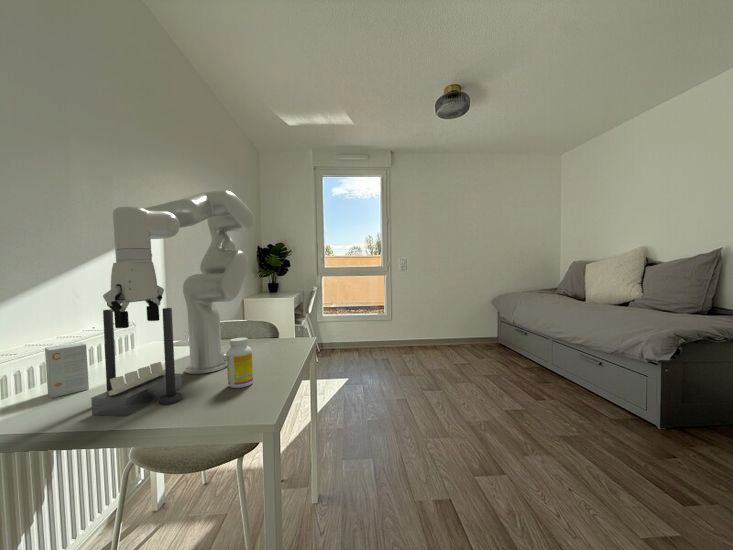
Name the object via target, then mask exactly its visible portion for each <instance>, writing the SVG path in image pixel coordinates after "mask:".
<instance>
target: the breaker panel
mask: <svg viewBox="0 0 733 550" xmlns="http://www.w3.org/2000/svg"><path fill="white" fill-rule="evenodd" d="M138 378H139V379H140V377H138ZM126 384H127V383H125V385H126ZM175 388H176V392H178V390H180V389H182V388H183V383H182V373H175ZM109 391H111V390H109ZM109 391H107V390H106V391H104V392H102V393H100V394H99V393H98V394H97V395H95V396H93V397H91V398H90V399H91V400H90V401H91V413H92V414H91V415H92V416H108V415H116V416H115V417H128V416H129V415H132V414H133V413H136V412H137V411H139V410H142V409H143V408H145V407H147V406H149V405H151V404H154V403H155V402H157V401H160V397H161V396H163V395H165V394H166V374H163V375H160V376H158V377H156V378H153V379H151V380H148V381H146V382H144V383H141V384H139V385H137V386H134V387H132V388H129V389H127V390H125V391H122V392H120V393H118V394H115V395H111V396H109Z"/></svg>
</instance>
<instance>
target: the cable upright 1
mask: <svg viewBox="0 0 733 550" xmlns="http://www.w3.org/2000/svg"><path fill="white" fill-rule="evenodd" d="M102 317H103V318H102V319H103V320H102V321H103V336H104V338H103V339H104V361H105V379H106V380H105V381H106V382H105V383H106V392H107V391H109V390H112V386H111V382H110V379H112V378H115V377H117V373H116V370H117V369H116V351H115V350H116V349H115V347H116V346H115V324H114V312H112V311H111V308H110V309H103V310H102Z"/></svg>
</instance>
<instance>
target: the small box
mask: <svg viewBox="0 0 733 550" xmlns="http://www.w3.org/2000/svg"><path fill="white" fill-rule="evenodd" d="M87 350H88V349H87V344H86V343H84V342H81V341H79V342H75V343H74V342H73V343H67V344H66V343H65V344H59V345H54V346H48V347H47V346H46V347H44V354H45V355H44V358H45V372H46V384H47V386H46V389H47V394H48V395H49V397H50V398H51V399H53V397H54V398H58V397H62V396H66V395H71V394H74V393H78V392H79V393H80V392H83V391H88V390H89V389H90V386H89V385H90V384H89V382H90V381H89V368H88V353H87V352H88V351H87Z"/></svg>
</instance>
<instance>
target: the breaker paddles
mask: <svg viewBox="0 0 733 550" xmlns="http://www.w3.org/2000/svg"><path fill="white" fill-rule="evenodd" d="M163 374H165V369H163V366H162V361H158V362H155V363H151V364H149V365H148V366H143V367H140V368H138V369H137V370H134V371H129V372H126V373H124V375H120V376H116V377H115V378H112V379H110V382H111V386H112V390H111V391H109V396H111V395H115V394H118V393H120V392H122V391H125V390H127V389H129V388H132V387H134V386H137V385H139V384H141V383H144V382H146V381H148V380H151V379H153V378H156V377H158V376H160V375H163ZM124 378H125V380H124ZM139 378H140V379H139ZM125 382H126V383H125ZM125 384H126V385H125Z"/></svg>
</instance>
